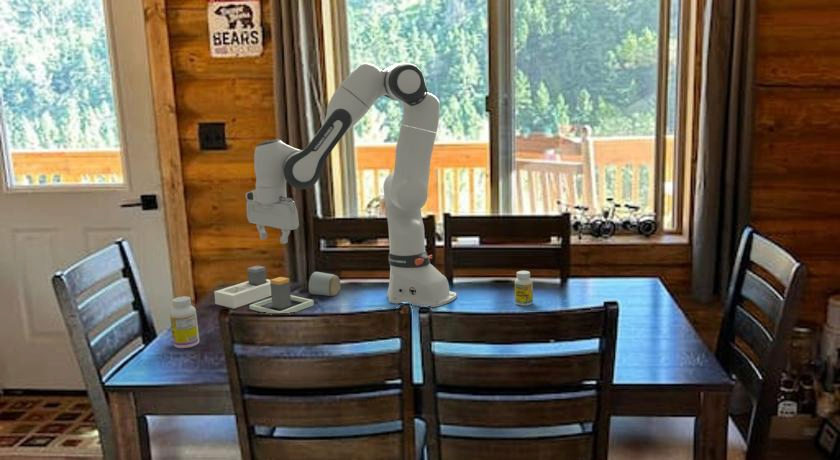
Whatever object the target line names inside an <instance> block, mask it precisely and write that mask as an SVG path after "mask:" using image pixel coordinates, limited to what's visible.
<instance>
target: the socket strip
mask: <svg viewBox="0 0 840 460" xmlns="http://www.w3.org/2000/svg"><path fill="white" fill-rule="evenodd" d="M270 280H271V279H268V278H266V281H267V283H265V284H262V285H258V286H254V285H249V282H248V280H247V281H244V282H241V283H237V284H235V285H231V286H227V287H224V288H222V289H217V290H214V291H213V293H214V302H215V305H217V306H223V307H226V308H230V309H237V308H240V307H243V306H245V305H250V304H251V303H252V304H253V303H256V302H259V301H260V300H261V301H262V300H265V299H268V298H270V297H272V296H271V284H270Z"/></svg>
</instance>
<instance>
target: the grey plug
mask: <svg viewBox="0 0 840 460" xmlns="http://www.w3.org/2000/svg"><path fill="white" fill-rule="evenodd" d="M269 280H270V284H271V296H270V297H271V298H272V303H271V304H272V306H271V307H272V308H274V309H277V310H285V309H288V308H290V307H292V300H291V295H292V294H291V285H290V278H289V277H283V276H278V277H275V278H272V279H269Z"/></svg>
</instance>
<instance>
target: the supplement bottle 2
mask: <svg viewBox="0 0 840 460" xmlns="http://www.w3.org/2000/svg"><path fill="white" fill-rule="evenodd" d="M533 288H534V283H533V279H532V278H531V272H530V271H528V270H519V271H517V272H516V279H515V280H514V304H516V305H518V306H523V307H524V306H525V307H526V306H531V305H533V304H534V291H533V290H534V289H533Z"/></svg>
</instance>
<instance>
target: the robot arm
mask: <svg viewBox="0 0 840 460" xmlns="http://www.w3.org/2000/svg"><path fill="white" fill-rule="evenodd" d="M383 96H384V97H386V98H388V99H390V100H393V101H398V102H401V103H402V106H403V117H402V120H401V124H400V129H399V134H398V137H397V142H396V147H395V156H394V157H395V158H394V159H395V160H394V169H393V172H391V173H390V174H388V175H387V176H386V178H385V179H384V182H383V195H384V196H383V198H384V205H385V212H386V213H385V214H386V221H387V226H388V240H389V241H388V243H389V252H388V264H389V269H390V270H389V280H388V281H389V282H388V289H387V294H386V297H387V298H388V303H390V304H398V303H402V302H408V303H409V302H410V304H412V305H411V306H415V305H417V306H416V307H422V306H421V305H425V306H428V305H429V306H431V307H430V308H434V307H435V308H436V307H440V306H442V305H446V304H448V303H450V302H453V301H454V300H455V299H457V297H458V296H457V294H458V293H457V292H455V291H450V286H449V281H448V278H447V277H446V276H445V275H444V274H442V273H441V272H440V271H439V270H438V269H437V268H436V267H435V266H434V265H433V264H431V259H433V254H430V255H428V253H427V250H426V243H425V241H426V239H425V225H424V222H423V221H424V220H423V215H422V210H421V209H422V208H423V207H424V206H425V205H426V203H427V201H428V197H429V196H428V194H429V193H428V188H429V182H430V181H429V180H430V171H431V159H432V153H433V150H434V146H435V141H436V136H437V133H438V128H439V127H438V126H439V120H440V110H441V102H440V100H439V99H438V97H437V96H436V95H434V94H432V93H430V92H429V91H428V87H427V83H426V80H425V76H424V73H423V72H422V70H421V69H420V68H419V67H418V66H417V65H416V64H413V63H410V62H397V63H395V64H392V65H390V66H387V67H385V68H382V69H380V68H379V67H378V66H377V65H375V64H373V63H369V62H363V63H361V64H360V65H358V66H357V67H355V69H353V70H352V71H351V72H350V73H349V74H348V75H347V77H346V78H345V79H344V80H343V81H341V83H340V85H339V86H338V87H337V88H336V90H335V91H334V93H333V94H332V95H331V98H330V100H329V101H328V103H327V108H326V115H325V119H324V121H323V123H322V125H321V127H320V129H319V130H318V131H317V133H315V135H314V136H313V138H311V140H310V142H309V143H308V145H307V146H306V147H305V148H304V149H300V148H299V149H298V148H296V147H293V146H291V145H289V144H286V143H285V142H283V141H282V140H281V139H270V140H265V141H261V142H259V144H257V145H256V147H255V149H254V157H253V158H254V159H253V160H254V164H253V165H254V173H255V176H256V177H255V178H256V181H255V189H252V190H251V191H248V192H246V193H245V199H246V200H247V201H246V218H247V221H248V222H249V223H250V224H256V229H257V232H258V233H259V239H260V240H267V239H268V232H266V229H265V227H270V228H275V229H279V230H281V233H282V235H281V236H280V237H279V243H280V244H287V243H288V241H289V235H290V234H291V231H293V230H297V229H298V228H299V226H300V223H299V220H300V219H299V214H298V209H297V206H296V203H295V201H294V200H293V199H292V198H291V197H287V183H288V184H289V186H291V187H292V188H295V189H298V190H307V189H310V188H311V187H314V185H315V184H317V182H318V181H319V178H320V176H321V172H322V168H323V165H324V162H325V160H326V159H327V158H328V157H329V156H330V154H331V152H332V151H333V150H334V148H335V147H336V146H337V144H338V143H339V141H340V140H341V139H342V138H343V137H344V136H345V135H346V133H348V132H349V131H350V130H351V129H352V128H353V127H354V126H355V125H357V123H358V122H360V120H361V119H362V118H364V117H365V115H366V114H367V113H368V112H369V110H371V108H372V106H373V105H374V103H375V102H376V101H377V100H378V99H380V98H382V97H383ZM398 305H399V304H398Z"/></svg>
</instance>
